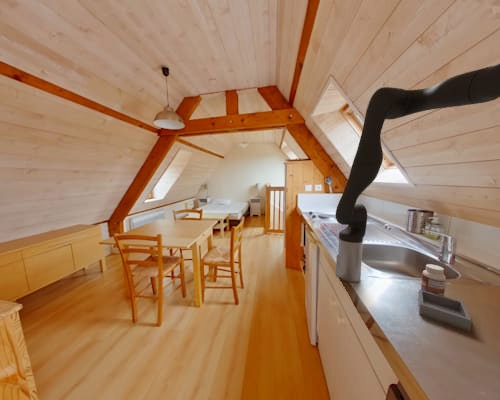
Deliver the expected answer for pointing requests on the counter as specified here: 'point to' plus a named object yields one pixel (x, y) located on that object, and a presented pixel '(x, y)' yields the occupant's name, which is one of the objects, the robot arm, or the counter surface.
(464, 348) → the counter surface
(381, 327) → the counter surface
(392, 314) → the counter surface
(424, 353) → the counter surface
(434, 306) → the charcoal bin
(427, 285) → the pill bottle
